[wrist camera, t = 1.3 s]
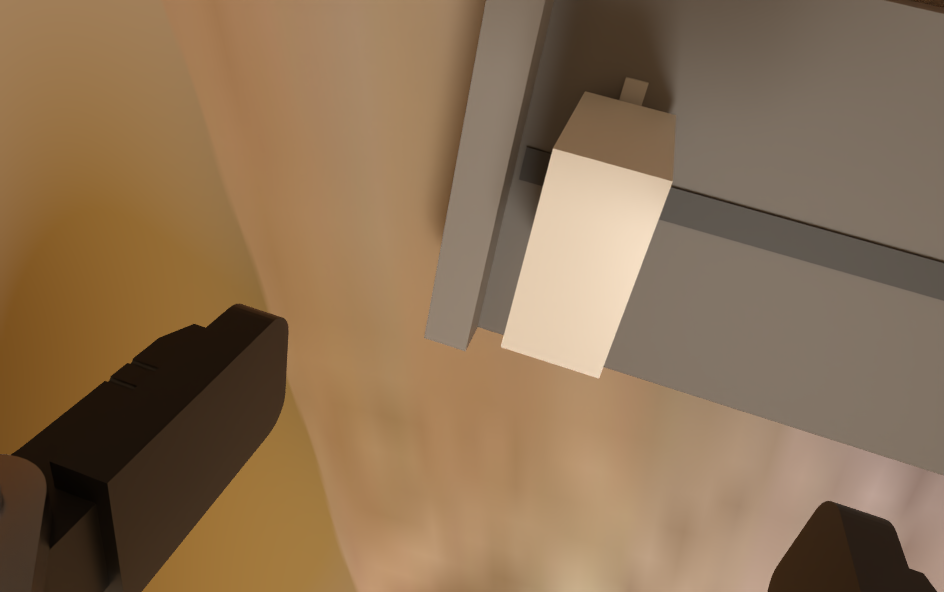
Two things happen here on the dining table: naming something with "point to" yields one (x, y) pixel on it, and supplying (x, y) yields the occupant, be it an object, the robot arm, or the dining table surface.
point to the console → (735, 201)
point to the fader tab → (591, 232)
